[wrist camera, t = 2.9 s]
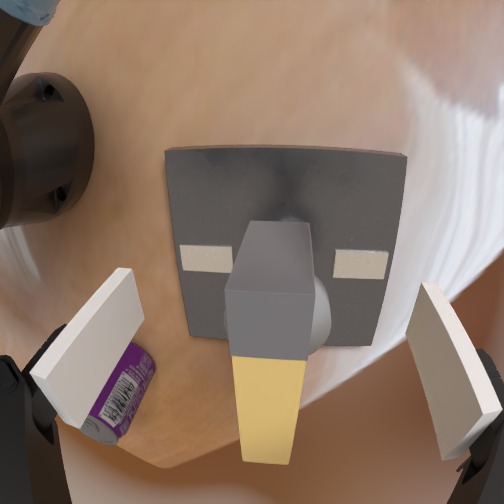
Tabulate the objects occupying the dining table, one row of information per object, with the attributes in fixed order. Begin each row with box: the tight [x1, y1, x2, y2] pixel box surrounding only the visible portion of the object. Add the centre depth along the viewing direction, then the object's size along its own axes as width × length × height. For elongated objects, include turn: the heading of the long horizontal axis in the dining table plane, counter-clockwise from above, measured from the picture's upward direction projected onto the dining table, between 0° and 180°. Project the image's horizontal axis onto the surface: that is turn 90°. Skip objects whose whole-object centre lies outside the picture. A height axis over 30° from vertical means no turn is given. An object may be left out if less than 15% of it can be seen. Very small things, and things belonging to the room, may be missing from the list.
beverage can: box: [77, 342, 155, 445], centre depth 30 cm, size 7×7×12 cm
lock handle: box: [224, 221, 331, 464], centre depth 16 cm, size 6×13×8 cm, turn 1°
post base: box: [165, 145, 407, 346], centre depth 23 cm, size 18×18×7 cm
